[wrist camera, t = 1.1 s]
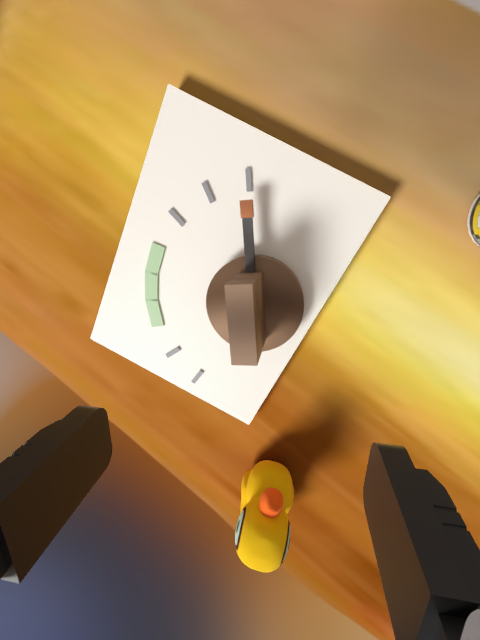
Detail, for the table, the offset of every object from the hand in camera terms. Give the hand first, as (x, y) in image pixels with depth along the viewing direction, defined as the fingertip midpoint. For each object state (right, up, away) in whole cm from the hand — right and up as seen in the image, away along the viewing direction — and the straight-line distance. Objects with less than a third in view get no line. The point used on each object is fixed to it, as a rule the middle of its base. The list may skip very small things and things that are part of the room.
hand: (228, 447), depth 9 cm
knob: (+2, +7, +16) cm, 18 cm away
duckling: (+4, -13, +24) cm, 28 cm away
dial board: (-2, +8, +18) cm, 20 cm away
